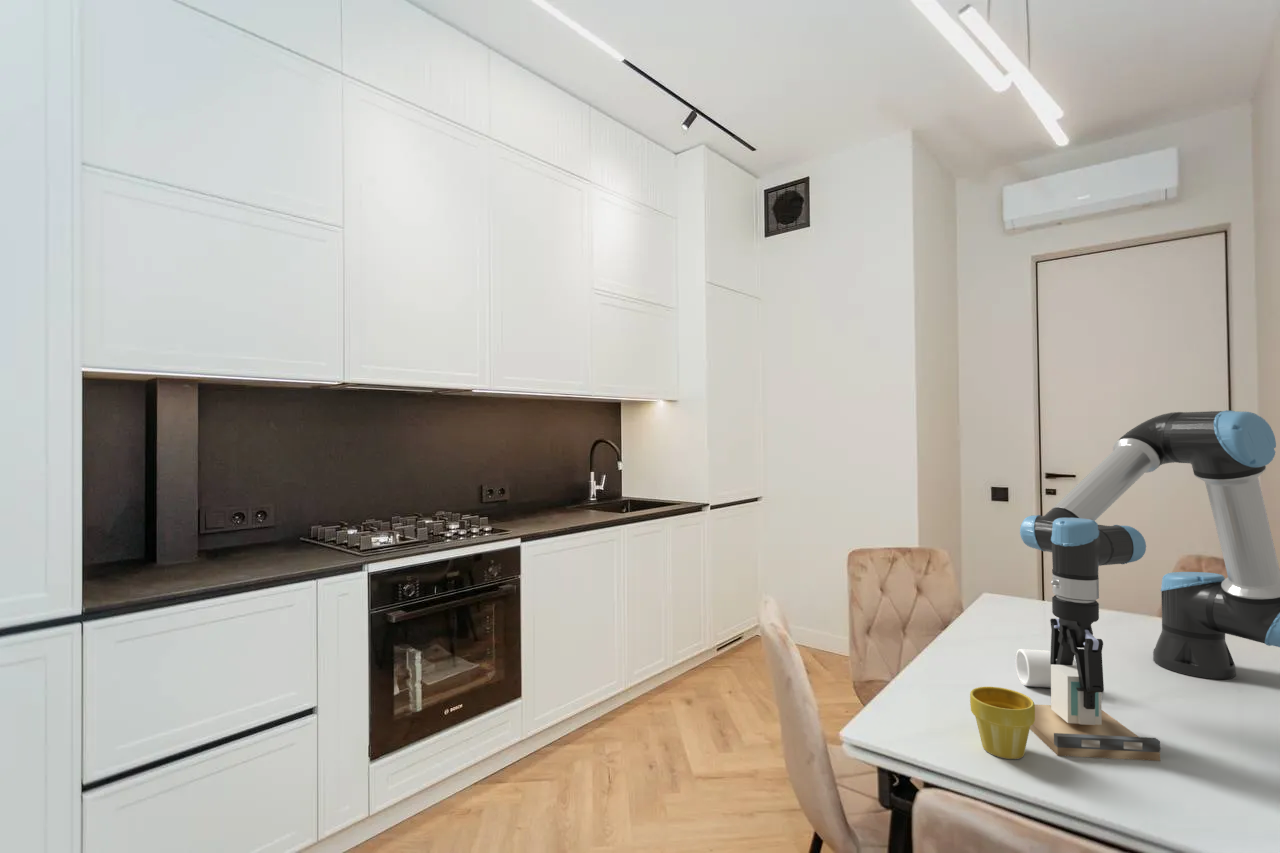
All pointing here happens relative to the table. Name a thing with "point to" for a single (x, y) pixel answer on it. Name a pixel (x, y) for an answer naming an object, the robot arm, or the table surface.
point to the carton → (1069, 694)
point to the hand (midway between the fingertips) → (1075, 715)
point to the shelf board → (1092, 738)
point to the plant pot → (1002, 720)
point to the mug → (1034, 667)
